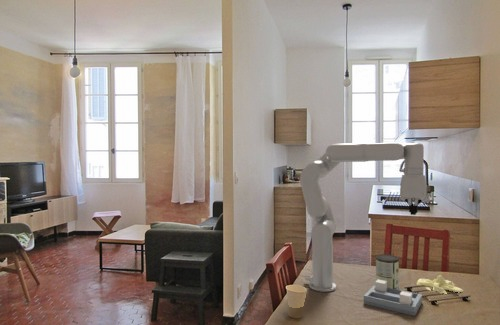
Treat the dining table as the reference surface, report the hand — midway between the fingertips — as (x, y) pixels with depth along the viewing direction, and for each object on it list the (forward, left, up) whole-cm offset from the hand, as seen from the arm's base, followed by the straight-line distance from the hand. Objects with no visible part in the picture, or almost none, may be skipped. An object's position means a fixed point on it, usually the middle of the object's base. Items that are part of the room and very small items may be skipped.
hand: (413, 214), depth 155 cm
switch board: (-6, -9, -37) cm, 39 cm away
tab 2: (0, -13, -35) cm, 38 cm away
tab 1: (-12, -5, -35) cm, 38 cm away
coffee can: (-13, +9, -37) cm, 41 cm away
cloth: (+8, +22, -38) cm, 44 cm away
